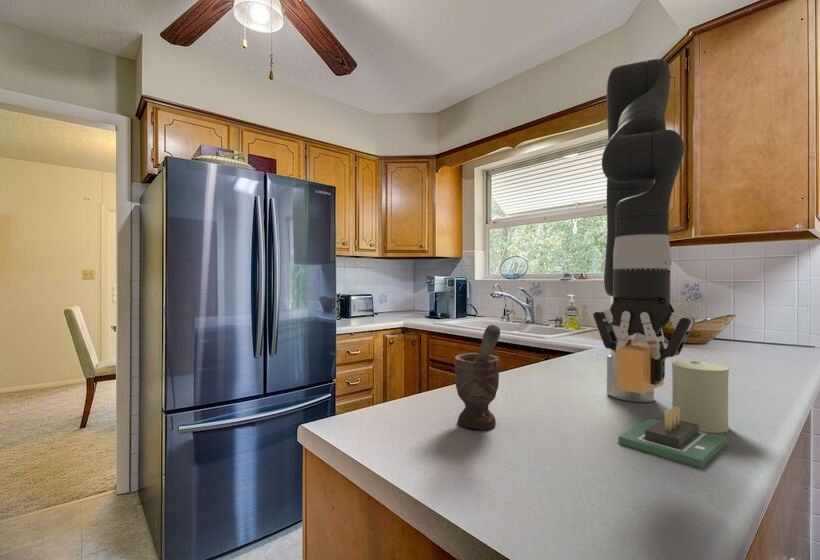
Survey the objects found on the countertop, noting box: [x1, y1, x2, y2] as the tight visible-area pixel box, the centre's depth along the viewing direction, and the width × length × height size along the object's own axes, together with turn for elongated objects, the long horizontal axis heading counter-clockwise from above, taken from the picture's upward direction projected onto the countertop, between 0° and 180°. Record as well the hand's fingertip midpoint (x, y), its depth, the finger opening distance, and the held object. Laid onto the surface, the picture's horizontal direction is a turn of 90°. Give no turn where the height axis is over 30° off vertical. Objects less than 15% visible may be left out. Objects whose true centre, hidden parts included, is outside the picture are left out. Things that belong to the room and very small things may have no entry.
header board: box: [617, 407, 727, 469], centre depth 70 cm, size 12×14×6 cm
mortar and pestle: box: [454, 324, 501, 431], centre depth 77 cm, size 12×9×20 cm
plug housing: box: [616, 343, 665, 394], centre depth 61 cm, size 4×8×6 cm, turn 130°
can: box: [671, 360, 730, 434], centre depth 79 cm, size 9×9×12 cm
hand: (640, 380), depth 61 cm, fingers closed on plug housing, 3 cm apart
